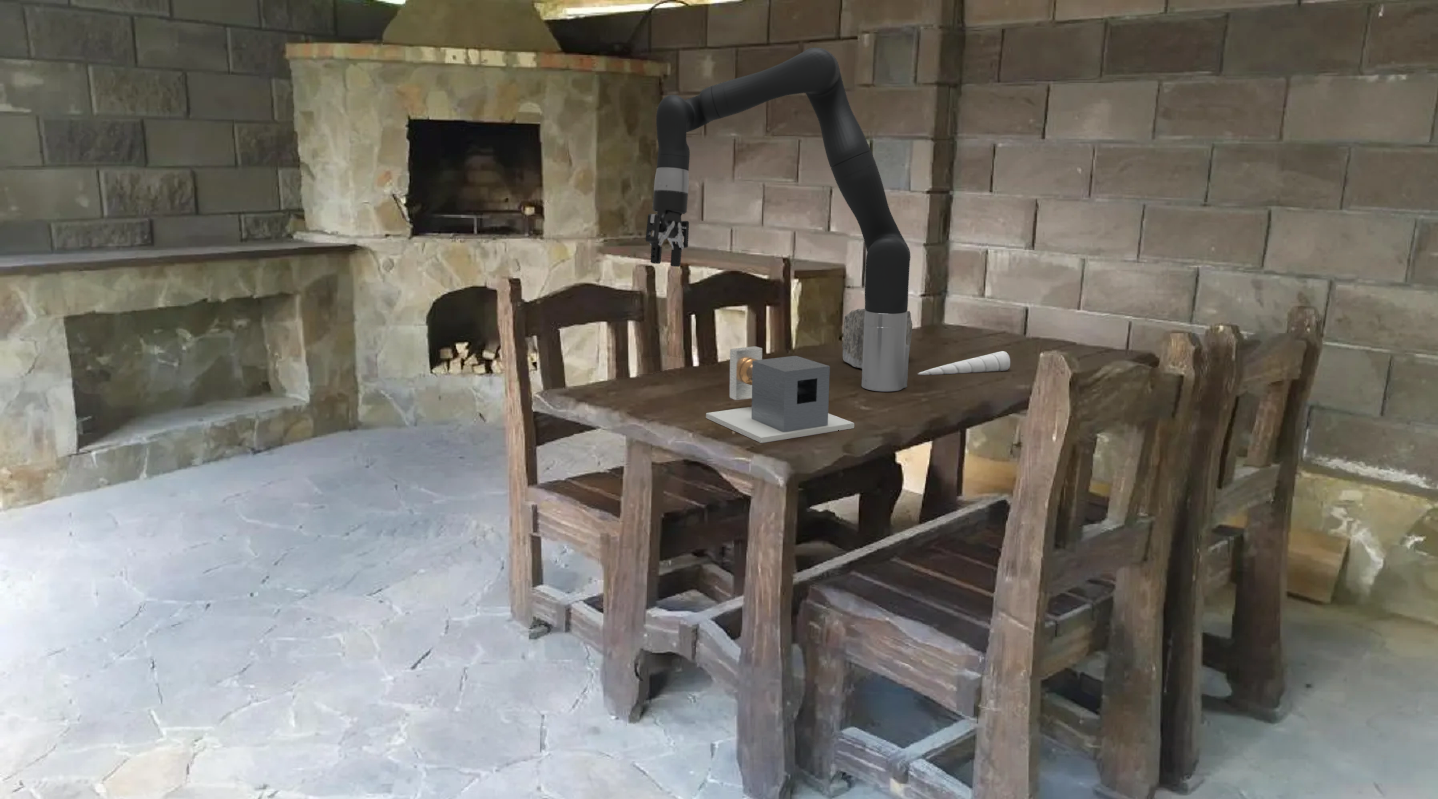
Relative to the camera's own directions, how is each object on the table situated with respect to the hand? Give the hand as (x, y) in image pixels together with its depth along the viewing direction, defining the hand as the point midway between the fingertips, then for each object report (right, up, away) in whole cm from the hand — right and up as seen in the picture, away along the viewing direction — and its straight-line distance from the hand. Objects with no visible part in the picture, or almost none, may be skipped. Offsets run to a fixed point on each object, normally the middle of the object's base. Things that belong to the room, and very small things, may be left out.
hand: (665, 265), depth 228 cm
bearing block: (+25, -34, -31) cm, 53 cm away
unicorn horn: (+71, -24, +18) cm, 77 cm away
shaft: (+20, -31, -24) cm, 44 cm away
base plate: (+23, -34, -28) cm, 50 cm away
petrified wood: (+51, -21, +27) cm, 62 cm away
